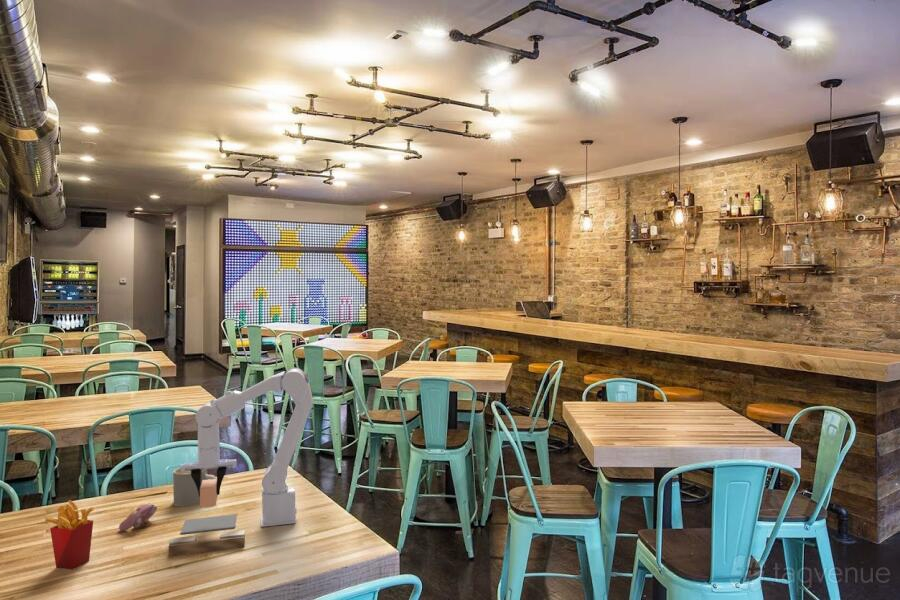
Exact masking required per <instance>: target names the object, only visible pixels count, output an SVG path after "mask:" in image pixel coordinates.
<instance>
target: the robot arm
mask: <svg viewBox="0 0 900 600" xmlns="http://www.w3.org/2000/svg"><path fill="white" fill-rule="evenodd" d="M282 390H283V391H285V393H287V394H288V396H290V397H291V400H292V402H293V404H295V407H294V409H293V411H292V414H291V416H290V418H289V422H288V424H287V427H286V429H285V432H284V433H283V436H282V439H281V441H280V443H279V445H278V446H279V447H278V449H277V451H276V454H275V456H274V458H273V461H272V463H270V465H268V466H267V468H266V470H265V472H264V476H263V478H262V480H261V486H262V489H261V497H262V498H261V501H262V503H261V505H262V510H261V511H262V514H261V516H260V527H261V528H265V527H274V526H280V525H281V526H282V525H289V524H295V523H296V522H297V521H296V518H297V517H296V515H297V507H296V489H295V488H291V487H290V488H289V486H288V485H287V483H286V479H287V477H288V468H289V466H290V462H291V460H292V457H293V455H294V453H295V449H296V447H297V445H298V443H299V440H300V437H301V435H302V433H303V429H304V427H305V425H306V423H307V420H308V418H309V415H310V414H311V410H312V408H313V405H314V399H313V394H312V390H311V385H310V380H309V378H308V376H307V375H306V373H305V372H304V370H302V369H301V368H298V367H292V368H290V369H287V370H285V371H282V372H279V373H276V374H274V375H270V377H268V378H266V379H265V378H264V379H263V380H262V381H260V382H258V383H256V384H254V385H252V386H250V387H249V388H247V389H245V390H243V391H238V390H233V391H232V390H228V391H226V392H225V394H224V395H223V396H220V397H218V398H217V399H214V398H213V399H211V400H210V401H209V402H208V403H205V404H203V405H202V406H201V407H200V408H199V409H198V410H197V412H196V414H195V421H196V423H197V461H192V462H185V463H181V464H180V467H181V472H185V471H191V477H192V478H193V480H194V482H195V484H196V487H197V490H198V494H199V497H200V487H201V484H202V470H206V469H207V470H216V478H217V495H218V496H219V495H220V492H221V485H222V482H223V480H224V478H225V475H226V473H227V469H228V468H232V469H234V468H237V459H235V458H234V459H230V458H229V459H226V458H225V459H224V458H223V459H222V458H221V456H220V455H221V454H220V453H221V451H220V447H221V446H220V441H221V440H220V427H219V426H220V425H219V424H220V423H219V422H220V421H219V419H221V420H222V419H225V418H227V417H229V416H232V415H234V414H235V413H237V412H239V411H241V410H243V409H244V408H246V404H247V402H249V401H252V400H254V399H256V398H258V397H259V396H262V395H265V394H267V393H268V392H271V391H275V392H283V391H282ZM220 458H221V459H220Z"/></svg>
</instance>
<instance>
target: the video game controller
mask: <svg viewBox="0 0 900 600" xmlns="http://www.w3.org/2000/svg"><path fill="white" fill-rule="evenodd" d="M157 510H158V507H157V506H156V505H155V504H151V503H147V504H142V505H139V506H138V507H137V508H136V509H135V510H133V511H132V512H131V513H130V514H129V515H128V516H127V518H125V519H124V520H123V521H122V522H120V523H119V526H118V530H120V531H121V532H125V531H127V530H129V529H131V528H132V527H133V528H134V529H138V528H139V527H140V526H141V525H142V524H143V525H145V524H146V523H147V524H148V522H149V520H150V519H151V518H152V517H153V516H154V515H155V513H156V511H157Z"/></svg>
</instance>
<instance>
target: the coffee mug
mask: <svg viewBox="0 0 900 600" xmlns="http://www.w3.org/2000/svg"><path fill="white" fill-rule="evenodd" d="M172 475H173V476H172V477H173V479H172V480H173V485H172V486H173V489H172V490H173V505H174V506H176V507H194V506H198V505H200V497H199V494H198V490H197V487H196V484H195V482H194V480H193V478H192V477H191V471H185V472H181V466H180V467H177V468H176V469H174V470H173V474H172ZM210 479H217V476H215V475H214V474H208V469H206V470H202V480H210Z"/></svg>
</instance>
